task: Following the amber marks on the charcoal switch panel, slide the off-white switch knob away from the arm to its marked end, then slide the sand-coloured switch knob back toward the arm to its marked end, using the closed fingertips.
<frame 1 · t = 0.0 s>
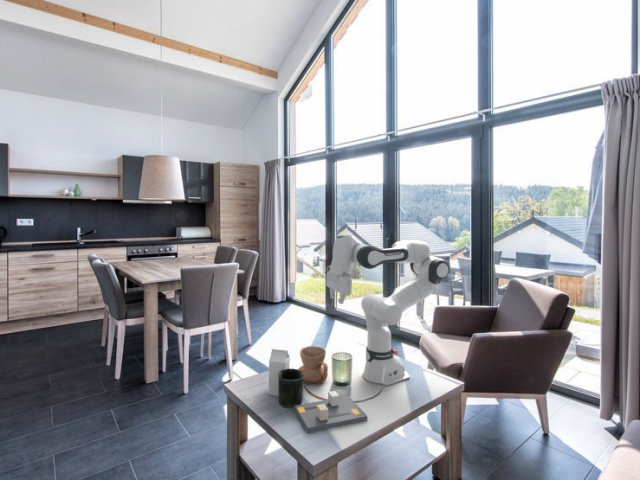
hand: (336, 300, 169), 39 cm above the table, tool pointing down, fingers open, 8 cm apart
ceramic jug: (312, 380, 175), on the table
mug: (288, 400, 157), on the table, touching milk carton
switch panel: (330, 415, 146), on the table
off white slider: (333, 398, 151), point 4 cm above the table, slide at 0.0 cm
sand slider: (322, 412, 140), point 4 cm above the table, slide at 0.0 cm
milk carton: (278, 392, 163), on the table, touching mug
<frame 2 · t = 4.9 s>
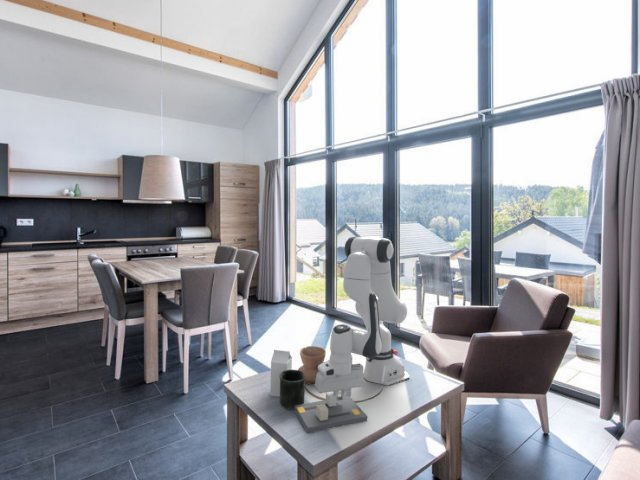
hand: (339, 399, 151), 4 cm above the table, tool pointing down, fingers closed
mug: (290, 402, 156), on the table, touching milk carton
off white slider: (331, 398, 150), point 4 cm above the table, slide at 1.1 cm, touching gripper
milk carton: (280, 393, 162), on the table, touching mug
everything else where it was.
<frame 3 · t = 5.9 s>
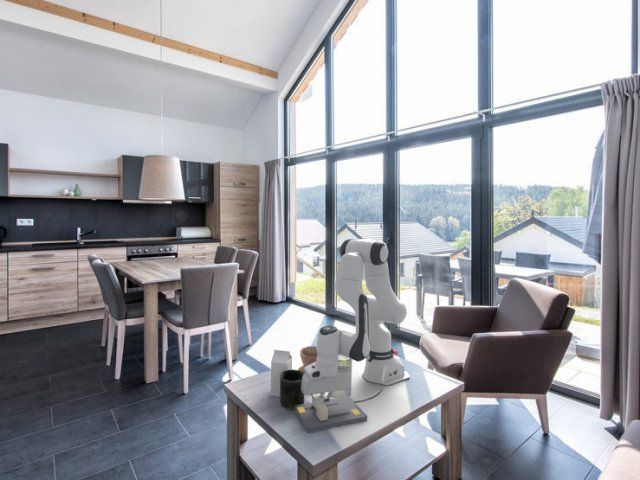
hand: (325, 401, 149), 4 cm above the table, tool pointing down, fingers closed
off white slider: (317, 401, 148), point 4 cm above the table, slide at 6.8 cm, touching gripper
everything else where it was.
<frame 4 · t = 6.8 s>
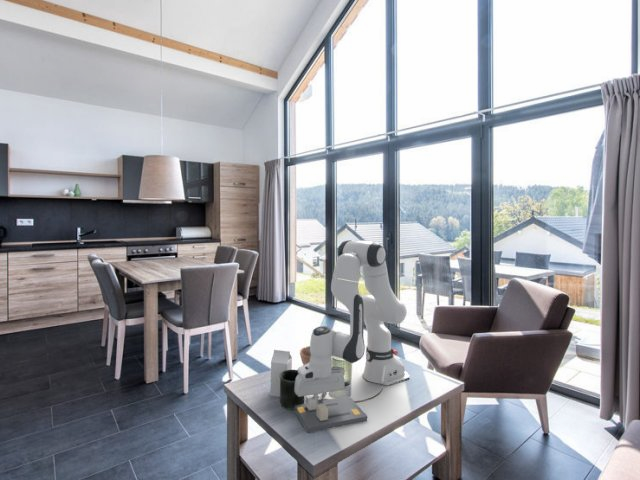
hand: (319, 402, 148), 4 cm above the table, tool pointing down, fingers closed
off white slider: (310, 402, 147), point 4 cm above the table, slide at 9.6 cm, touching gripper
everything else where it was.
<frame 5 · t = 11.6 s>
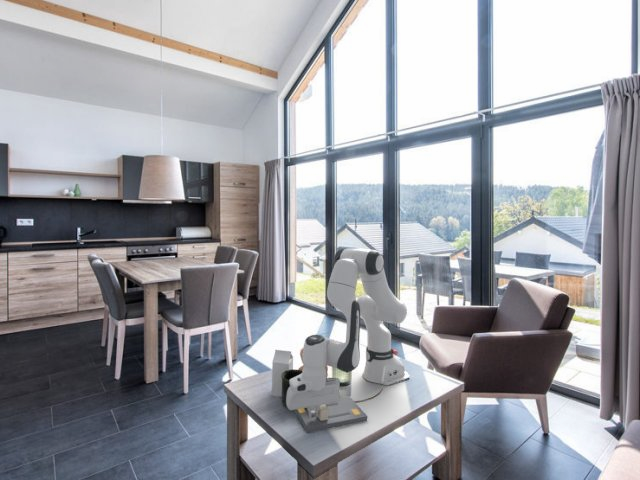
hand: (313, 416, 139), 3 cm above the table, tool pointing down, fingers closed
off white slider: (310, 402, 147), point 4 cm above the table, slide at 9.6 cm
sand slider: (322, 412, 140), point 4 cm above the table, slide at 0.1 cm, touching gripper
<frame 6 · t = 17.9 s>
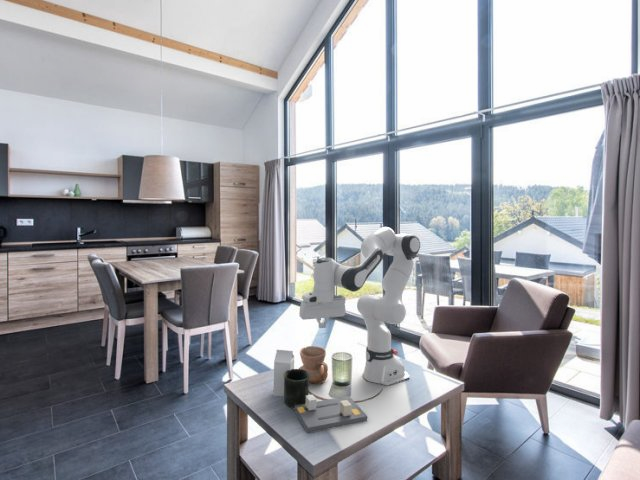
hand: (322, 327, 161), 29 cm above the table, tool pointing down, fingers closed
mug: (294, 401, 157), on the table, touching milk carton
sand slider: (345, 407, 144), point 4 cm above the table, slide at 9.6 cm
at the end: off white slider slide at 9.6 cm; sand slider slide at 9.6 cm; mug moved 2.4 cm from its start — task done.
